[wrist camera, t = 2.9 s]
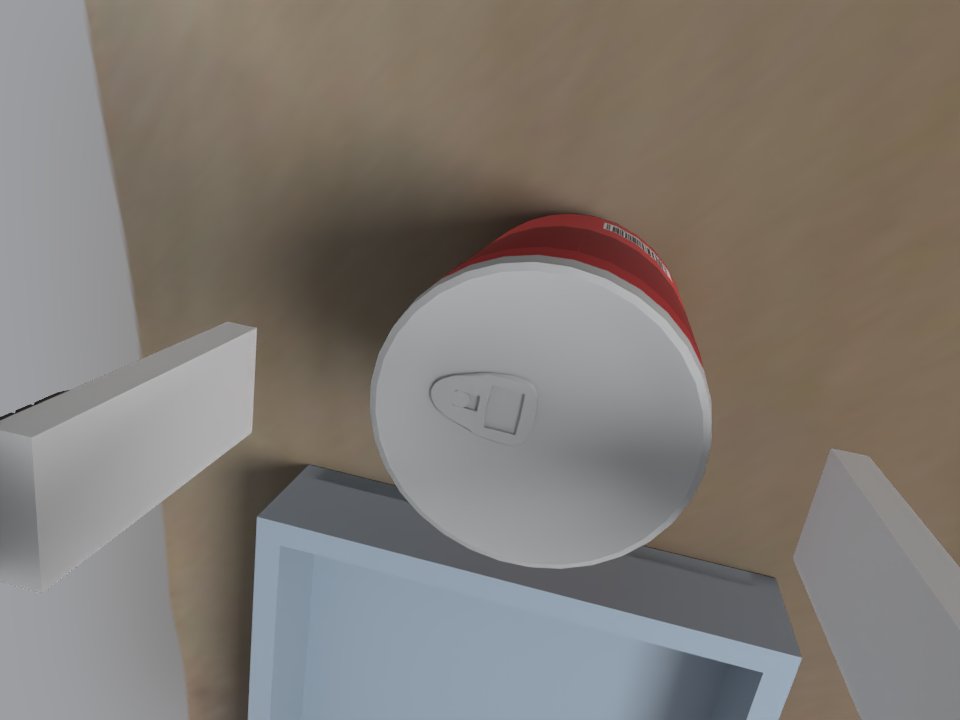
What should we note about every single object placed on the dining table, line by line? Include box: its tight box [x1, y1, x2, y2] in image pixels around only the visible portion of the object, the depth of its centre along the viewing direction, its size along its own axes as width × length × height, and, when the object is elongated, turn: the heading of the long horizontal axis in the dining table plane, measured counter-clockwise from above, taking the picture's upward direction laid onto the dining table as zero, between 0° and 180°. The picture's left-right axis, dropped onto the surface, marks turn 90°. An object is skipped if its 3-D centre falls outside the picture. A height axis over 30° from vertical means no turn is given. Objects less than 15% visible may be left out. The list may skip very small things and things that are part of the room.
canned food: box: [370, 214, 712, 569], centre depth 21 cm, size 8×8×11 cm
